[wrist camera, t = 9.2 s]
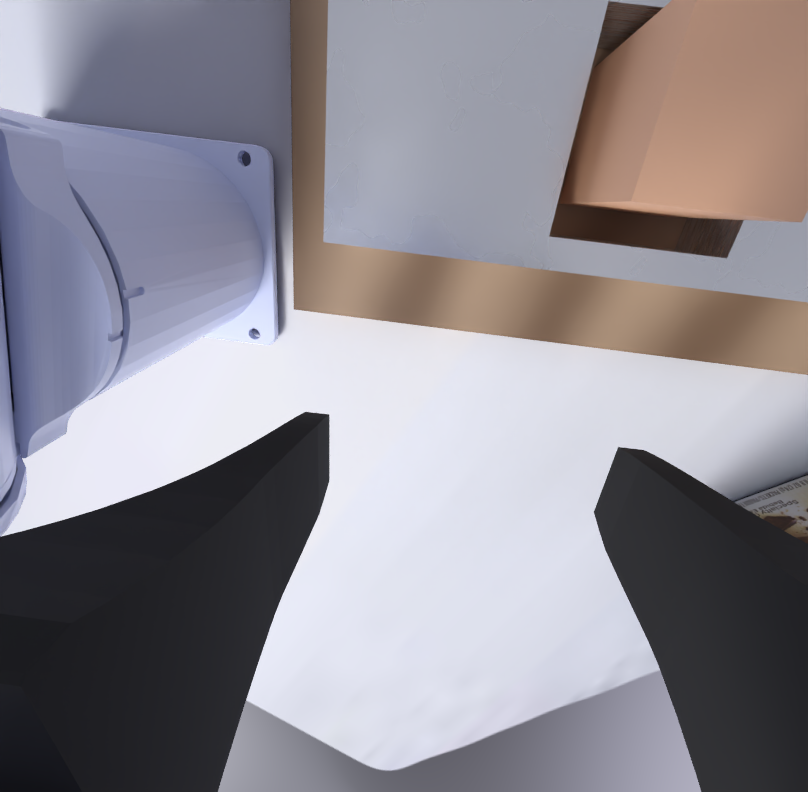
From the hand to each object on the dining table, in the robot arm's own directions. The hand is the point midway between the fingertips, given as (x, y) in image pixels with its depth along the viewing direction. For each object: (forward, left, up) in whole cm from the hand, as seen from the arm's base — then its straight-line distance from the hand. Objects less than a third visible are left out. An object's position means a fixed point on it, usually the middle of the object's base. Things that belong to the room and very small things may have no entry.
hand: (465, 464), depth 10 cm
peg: (+5, +8, -8) cm, 13 cm away
